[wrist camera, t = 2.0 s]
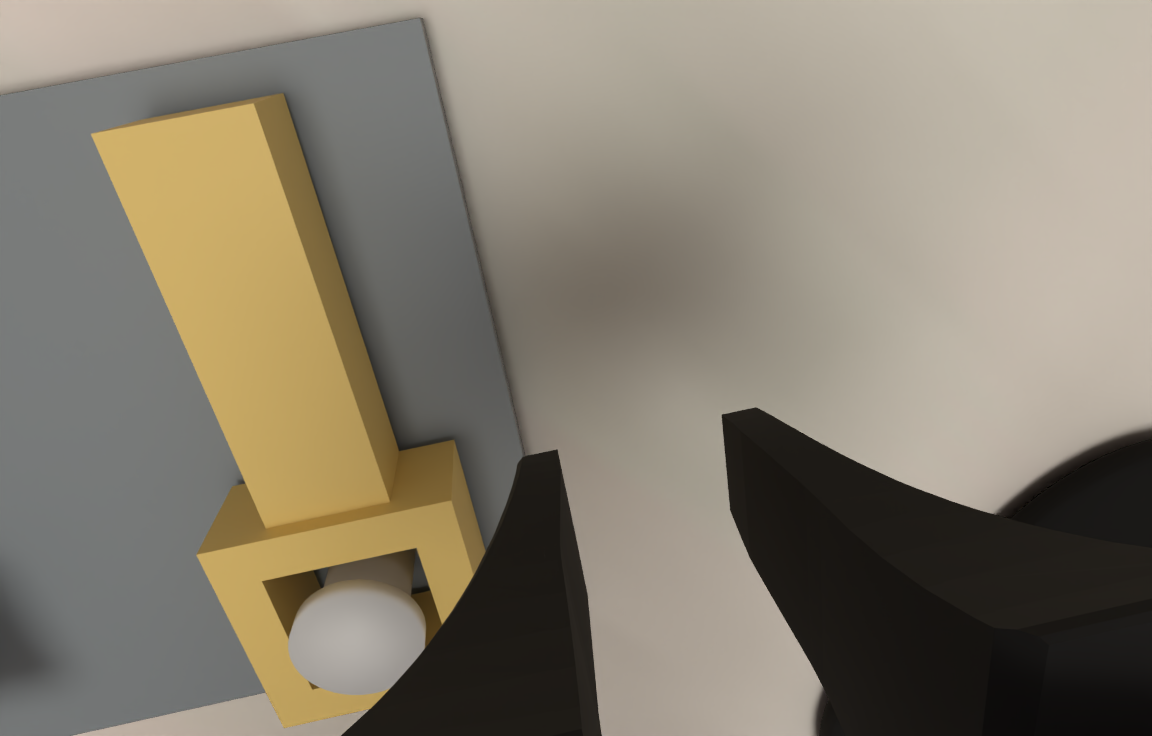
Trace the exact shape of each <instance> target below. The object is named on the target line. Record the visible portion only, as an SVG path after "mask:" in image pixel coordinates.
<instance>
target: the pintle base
mask: <svg viewBox="0 0 1152 736" xmlns="http://www.w3.org/2000/svg"><path fill="white" fill-rule="evenodd" d="M280 93H283V94H284V97H285V100H286V103H287V106H288V109H289V112H290V115H291V118H292V121H293V124H294V128H295V131H296V134H297V137H298V140H299V143H300V146H301V149H302V152H303V155H304V158H305V162H306V165H307V168H308V171H309V174H310V177H311V180H312V183H313V186H314V189H315V192H316V196H317V199H318V202H319V205H320V208H321V211H322V214H323V217H324V220H325V223H326V226H327V230H328V233H329V236H330V239H331V242H332V245H333V248H334V251H335V254H336V257H337V260H338V264H339V267H340V270H341V273H342V276H343V279H344V282H345V285H346V288H347V291H348V294H349V298H350V301H351V304H352V307H353V310H354V313H355V316H356V319H357V322H358V325H359V328H360V332H361V335H362V338H363V341H364V344H365V347H366V350H367V353H368V356H369V359H370V362H371V366H372V369H373V372H374V375H375V378H376V381H377V384H378V387H379V390H380V393H381V396H382V400H383V403H384V406H385V409H386V412H387V415H388V418H389V421H390V424H391V427H392V430H393V434H394V437H395V440H396V443H397V446H398V449H399V451H402V450H407V449H412V448H417V447H421V446H426V445H431V444H436V443H441V442H445V441H450V440H454V441H455V444H456V448H457V451H458V455H459V459H460V462H461V466H462V469H463V473H464V476H465V480H466V483H467V487H468V490H469V494H470V498H471V501H472V505H473V508H474V512H475V515H476V519H477V522H478V526H479V530H480V533H481V537H482V540H483V544H484V547H485V551H486V550H487V548H488V546H489V544H490V542H491V540H492V538H493V535H494V533H495V531H496V528H497V526H498V523H499V521H500V518H501V516H502V513H503V511H504V508H505V506H506V503H507V500H508V497H509V494H510V491H511V488H512V485H513V481H514V478H515V474H516V469H517V464H518V462H519V461H520V460H521V458H522V457H525V453H524V449H523V445H522V440H521V436H520V432H519V428H518V423H517V419H516V415H515V411H514V406H513V402H512V398H511V393H510V389H509V385H508V381H507V376H506V372H505V368H504V364H503V359H502V355H501V351H500V347H499V342H498V338H497V334H496V329H495V325H494V321H493V317H492V312H491V308H490V304H489V300H488V295H487V291H486V287H485V282H484V278H483V274H482V270H481V265H480V261H479V257H478V253H477V248H476V244H475V240H474V235H473V231H472V227H471V223H470V218H469V214H468V210H467V206H466V201H465V197H464V193H463V189H462V184H461V180H460V176H459V171H458V167H457V163H456V159H455V154H454V150H453V146H452V142H451V137H450V133H449V129H448V124H447V120H446V116H445V112H444V107H443V103H442V99H441V95H440V90H439V86H438V82H437V77H436V73H435V69H434V65H433V60H432V56H431V52H430V48H429V43H428V39H427V35H426V31H425V26H424V22H423V18H417V19H411V20H406V21H401V22H395V23H390V24H384V25H379V26H374V27H368V28H363V29H357V30H352V31H347V32H341V33H336V34H330V35H325V36H319V37H314V38H309V39H303V40H298V41H292V42H287V43H282V44H276V45H271V46H265V47H260V48H255V49H249V50H244V51H238V52H233V53H228V54H222V55H217V56H211V57H206V58H200V59H195V60H190V61H184V62H179V63H173V64H168V65H163V66H157V67H152V68H146V69H141V70H136V71H130V72H125V73H119V74H114V75H108V76H103V77H98V78H92V79H87V80H81V81H76V82H71V83H65V84H60V85H54V86H49V87H44V88H38V89H33V90H27V91H22V92H17V93H11V94H6V95H0V736H72V735H77V734H81V733H86V732H90V731H95V730H99V729H104V728H108V727H113V726H117V725H122V724H126V723H131V722H135V721H140V720H144V719H149V718H153V717H158V716H162V715H167V714H171V713H176V712H180V711H185V710H189V709H194V708H198V707H203V706H207V705H212V704H216V703H221V702H225V701H230V700H234V699H239V698H243V697H248V696H252V695H257V694H261V693H266V692H265V690H264V688H263V686H262V684H261V682H260V680H259V678H258V676H257V674H256V672H255V670H254V668H253V666H252V664H251V662H250V660H249V658H248V656H247V654H246V652H245V650H244V648H243V646H242V644H241V642H240V640H239V638H238V636H237V634H236V633H235V631H234V629H233V627H232V625H231V623H230V621H229V619H228V617H227V615H226V613H225V611H224V609H223V607H222V605H221V603H220V601H219V599H218V597H217V595H216V593H215V591H214V589H213V587H212V585H211V583H210V581H209V579H208V577H207V575H206V573H205V571H204V569H203V567H202V565H201V563H200V561H199V559H198V557H197V556H196V554H197V552H198V551H199V549H200V547H201V545H202V543H203V541H204V539H205V537H206V535H207V533H208V531H209V530H210V528H211V526H212V524H213V522H214V520H215V518H216V516H217V514H218V512H219V510H220V509H221V507H222V505H223V503H224V501H225V499H226V497H227V495H228V493H229V491H230V489H231V488H232V486H236V485H241V484H245V481H244V478H243V476H242V474H241V472H240V469H239V467H238V465H237V463H236V460H235V458H234V456H233V454H232V451H231V449H230V447H229V445H228V442H227V440H226V438H225V436H224V433H223V431H222V429H221V427H220V424H219V422H218V420H217V417H216V415H215V413H214V411H213V408H212V406H211V404H210V402H209V399H208V397H207V395H206V393H205V390H204V388H203V386H202V384H201V381H200V379H199V377H198V375H197V372H196V370H195V368H194V366H193V363H192V361H191V359H190V357H189V354H188V352H187V350H186V348H185V345H184V343H183V341H182V339H181V336H180V334H179V332H178V330H177V327H176V325H175V323H174V321H173V318H172V316H171V314H170V312H169V309H168V307H167V305H166V303H165V300H164V298H163V296H162V294H161V291H160V289H159V287H158V285H157V282H156V280H155V278H154V275H153V273H152V271H151V269H150V266H149V264H148V262H147V260H146V257H145V255H144V253H143V251H142V248H141V246H140V244H139V242H138V239H137V237H136V235H135V233H134V230H133V228H132V226H131V224H130V221H129V219H128V217H127V215H126V212H125V210H124V208H123V206H122V203H121V201H120V199H119V197H118V194H117V192H116V190H115V188H114V185H113V183H112V181H111V179H110V176H109V174H108V172H107V170H106V167H105V165H104V163H103V161H102V158H101V156H100V154H99V152H98V149H97V147H96V145H95V143H94V140H93V138H92V136H91V134H92V133H96V132H99V131H103V130H106V129H110V128H114V127H117V126H121V125H124V124H128V123H131V122H135V121H138V120H142V119H147V118H152V117H158V116H163V115H168V114H174V113H179V112H184V111H189V110H195V109H200V108H205V107H211V106H216V105H221V104H227V103H232V102H237V101H243V100H248V99H253V98H259V97H264V96H269V95H275V94H280ZM313 571H314V573H315V575H316V578H317V580H318V583H319V585H320V587H321V589H319V590H318V591H316V592H315V593H313V594H312V595H310V596H309V597H308V598H307V599H306V600H305V601H304V602H303V604H302V605H301V606H300V608H299V610H298V611H297V613H296V616H295V619H294V622H293V626H292V629H291V632H290V635H289V641H288V651H289V656H290V659H291V661H292V663H293V665H294V667H295V668H296V669H297V671H298V672H299V673H300V674H301V675H302V676H303V677H304V678H305V679H307V680H308V681H309V682H311V683H312V684H314V685H316V686H318V687H320V688H322V689H325V690H328V691H331V692H334V693H339V694H346V695H366V694H373V693H378V692H381V691H385V690H387V689H390V688H391V687H392V686H393V685H394V684H395V683H396V682H397V681H398V679H399V678H400V677H401V676H402V675H403V674H404V673H405V672H406V670H407V669H408V668H409V667H410V666H411V665H412V664H413V663H414V661H415V660H416V659H417V658H418V656H419V655H420V654H421V653H422V651H423V650H424V649H425V637H426V621H425V617H424V615H423V612H422V610H421V608H420V607H419V605H418V604H417V603H416V602H415V601H414V599H413V598H411V595H412V594H417V593H421V592H426V591H430V587H429V584H428V581H427V578H426V575H425V572H424V569H423V566H422V563H421V560H420V557H419V554H418V551H417V548H413V549H409V550H404V551H399V552H395V553H390V554H385V555H381V556H376V557H372V558H367V559H362V560H358V561H353V562H348V563H344V564H339V565H334V566H330V567H325V568H321V569H316V570H313Z"/></svg>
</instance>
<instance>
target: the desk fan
mask: <svg viewBox="0 0 1152 736" xmlns="http://www.w3.org/2000/svg"><path fill="white" fill-rule="evenodd" d="M1010 519H1011V520H1015V521H1018V522H1022V523H1026V524H1030V525H1034V526H1039V527H1043V528H1047V529H1051V530H1055V531H1060V532H1065V533H1070V534H1075V535H1079V536H1084V537H1089V538H1094V539H1099V540H1104V541H1109V542H1115V543H1121V544H1128V545H1135V546H1142V547H1149V548H1152V440H1148V441H1144V442H1140V443H1137V444H1134V445H1131V446H1128V447H1125V448H1122V449H1120V450H1117V451H1115V452H1112V453H1110V454H1108V455H1105V456H1103V457H1101V458H1099V459H1097V460H1095V461H1093V462H1091V463H1089V464H1087V465H1085V466H1083V467H1081V468H1079V469H1078V470H1076V471H1074V472H1073V473H1071V474H1069V475H1068V476H1066V477H1064V478H1063V479H1061V480H1059V481H1058V482H1056V483H1055V484H1054V485H1052V486H1051V487H1049V488H1048V489H1047V490H1045V491H1044V492H1042V493H1041V494H1039V495H1038V496H1037V497H1036V498H1034V499H1033V500H1032V501H1031V502H1029V503H1028V504H1027V505H1026V506H1025V507H1023V508H1022V509H1021V510H1020V511H1018V512H1017V513H1016V514H1015V515H1014V516H1013V517H1012V518H1010ZM820 736H845V734H844V732H843V729H842V727H841V725H840V723H839V720H838V718H837V716H836V714H835V712H834V709H833V707H832V705H831V703H830V701H828V703H827V705H826V707H825V710H824V714H823V717H822V721H821V728H820Z"/></svg>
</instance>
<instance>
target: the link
mask: <svg viewBox="0 0 1152 736" xmlns="http://www.w3.org/2000/svg"><path fill="white" fill-rule="evenodd" d="M91 136H92V138H93V140H94V143H95V145H96V147H97V149H98V152H99V154H100V156H101V158H102V161H103V163H104V165H105V167H106V170H107V172H108V174H109V176H110V179H111V181H112V183H113V185H114V188H115V190H116V192H117V194H118V197H119V199H120V201H121V203H122V206H123V208H124V210H125V212H126V215H127V217H128V219H129V221H130V224H131V226H132V228H133V230H134V233H135V235H136V237H137V239H138V242H139V244H140V246H141V248H142V251H143V253H144V255H145V257H146V260H147V262H148V264H149V266H150V269H151V271H152V273H153V275H154V278H155V280H156V282H157V285H158V287H159V289H160V291H161V294H162V296H163V298H164V300H165V303H166V305H167V307H168V309H169V312H170V314H171V316H172V318H173V321H174V323H175V325H176V327H177V330H178V332H179V334H180V336H181V339H182V341H183V343H184V345H185V348H186V350H187V352H188V354H189V357H190V359H191V361H192V363H193V366H194V368H195V370H196V372H197V375H198V377H199V379H200V381H201V384H202V386H203V388H204V390H205V393H206V395H207V397H208V399H209V402H210V404H211V406H212V408H213V411H214V413H215V415H216V417H217V420H218V422H219V424H220V427H221V429H222V431H223V433H224V436H225V438H226V440H227V442H228V445H229V447H230V449H231V451H232V454H233V456H234V458H235V460H236V463H237V465H238V467H239V469H240V472H241V474H242V476H243V478H244V481H245V484H241V485H236V486H232V488H231V489H230V491H229V493H228V495H227V497H226V499H225V501H224V503H223V505H222V507H221V509H220V510H219V512H218V514H217V516H216V518H215V520H214V522H213V524H212V526H211V528H210V530H209V531H208V533H207V535H206V537H205V539H204V541H203V543H202V545H201V547H200V549H199V551H198V552H197V554H196V556H197V557H198V559H199V561H200V563H201V565H202V567H203V569H204V571H205V573H206V575H207V577H208V579H209V581H210V583H211V585H212V587H213V589H214V591H215V593H216V595H217V597H218V599H219V601H220V603H221V605H222V607H223V609H224V611H225V613H226V615H227V617H228V619H229V621H230V623H231V625H232V627H233V629H234V631H235V633H236V634H237V636H238V638H239V640H240V642H241V644H242V646H243V648H244V650H245V652H246V654H247V656H248V658H249V660H250V662H251V664H252V666H253V668H254V670H255V672H256V674H257V676H258V678H259V680H260V682H261V684H262V686H263V688H264V690H265V692H266V694H267V696H268V698H269V700H270V702H271V704H272V706H273V708H274V709H275V711H276V713H277V715H278V717H279V719H280V721H281V723H282V725H283V727H284V728H287V727H291V726H296V725H300V724H305V723H309V722H313V721H318V720H322V719H327V718H331V717H336V716H340V715H345V714H349V713H354V712H358V711H362V710H367V709H371V708H372V707H373V706H374V705H375V704H376V703H377V702H378V701H379V700H380V699H381V698H382V697H383V695H384V694H385V693H386V692H387V691H388V690H389V689H387V690H385V691H381V692H378V693H373V694H366V695H346V694H339V693H334V692H331V691H328V690H325V689H322V688H320V687H318V686H316V685H314V684H312V683H311V682H309V681H308V680H307V679H305V678H304V677H303V676H302V675H301V674H300V673H299V672H298V671H297V669H296V668H295V667H294V665H293V663H292V661H291V659H290V656H289V651H288V641H289V635H290V632H291V629H292V626H293V622H294V619H295V616H296V613H297V611H298V610H299V608H300V606H301V605H302V604H303V602H304V601H305V600H306V599H307V598H308V597H309V596H310V595H312V594H313V593H315V592H316V591H318V590H319V589H321V587H320V585H319V583H318V580H317V578H316V575H315V573H314V571H313V570H316V569H321V568H325V567H330V566H334V565H339V564H344V563H348V562H353V561H358V560H362V559H367V558H372V557H376V556H381V555H385V554H390V553H395V552H399V551H404V550H409V549H413V548H417V551H418V554H419V557H420V560H421V563H422V566H423V569H424V572H425V575H426V578H427V581H428V584H429V587H430V591H426V592H421V593H417V594H412V595H411V598H413V599H414V601H415V602H416V603H417V604H418V605H419V607H420V608H421V610H422V612H423V615H424V617H425V621H426V637H425V648H426V646H427V645H428V644H429V642H430V641H431V640H432V638H433V637H434V636H435V634H436V633H437V631H438V630H439V629H440V627H441V626H442V624H443V623H444V622H445V620H446V619H447V617H448V616H449V615H450V613H451V612H452V610H453V609H454V607H455V605H456V604H457V602H458V601H459V599H460V598H461V596H462V594H463V593H464V591H465V589H466V588H467V586H468V584H469V583H470V581H471V579H472V577H473V575H474V574H475V572H476V570H477V568H478V566H479V564H480V562H481V560H482V558H483V556H484V554H485V552H486V551H485V547H484V544H483V540H482V537H481V533H480V530H479V526H478V522H477V519H476V515H475V512H474V508H473V505H472V501H471V498H470V494H469V490H468V487H467V483H466V480H465V476H464V473H463V469H462V466H461V462H460V459H459V455H458V451H457V448H456V444H455V441H454V440H450V441H445V442H441V443H436V444H431V445H426V446H421V447H417V448H412V449H407V450H402V451H399V449H398V446H397V443H396V440H395V437H394V434H393V430H392V427H391V424H390V421H389V418H388V415H387V412H386V409H385V406H384V403H383V400H382V396H381V393H380V390H379V387H378V384H377V381H376V378H375V375H374V372H373V369H372V366H371V362H370V359H369V356H368V353H367V350H366V347H365V344H364V341H363V338H362V335H361V332H360V328H359V325H358V322H357V319H356V316H355V313H354V310H353V307H352V304H351V301H350V298H349V294H348V291H347V288H346V285H345V282H344V279H343V276H342V273H341V270H340V267H339V264H338V260H337V257H336V254H335V251H334V248H333V245H332V242H331V239H330V236H329V233H328V230H327V226H326V223H325V220H324V217H323V214H322V211H321V208H320V205H319V202H318V199H317V196H316V192H315V189H314V186H313V183H312V180H311V177H310V174H309V171H308V168H307V165H306V162H305V158H304V155H303V152H302V149H301V146H300V143H299V140H298V137H297V134H296V131H295V128H294V124H293V121H292V118H291V115H290V112H289V109H288V106H287V103H286V100H285V97H284V94H283V93H280V94H275V95H269V96H264V97H259V98H253V99H248V100H243V101H237V102H232V103H227V104H221V105H216V106H211V107H205V108H200V109H195V110H189V111H184V112H179V113H174V114H168V115H163V116H158V117H152V118H147V119H142V120H138V121H135V122H131V123H128V124H124V125H121V126H117V127H114V128H110V129H106V130H103V131H99V132H96V133H92V134H91Z"/></svg>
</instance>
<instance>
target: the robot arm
mask: <svg viewBox="0 0 1152 736" xmlns="http://www.w3.org/2000/svg"><path fill="white" fill-rule="evenodd" d="M722 424H723V435H724V446H725V457H726V468H727V479H728V490H729V501H730V511H731V513H732V516H733V518H734V521H735V523H736V526H737V528H738V531H739V533H740V536H741V538H742V540H743V543H744V545H745V547H746V550H747V552H748V554H749V557H750V559H751V561H752V563H753V564H754V566H755V568H756V570H757V571H758V573H759V575H760V577H761V578H762V580H763V582H764V584H765V585H766V587H767V589H768V591H769V592H770V594H771V596H772V598H773V599H774V601H775V603H776V604H777V606H778V608H779V610H780V611H781V613H782V615H783V616H784V618H785V620H786V622H787V623H788V625H789V627H790V628H791V630H792V632H793V634H794V635H795V637H796V639H797V640H798V642H799V644H800V646H801V647H802V649H803V651H804V652H805V654H806V656H807V658H808V659H809V661H810V663H811V665H812V667H813V668H814V670H815V672H816V674H817V676H818V678H819V680H820V682H821V684H822V686H823V687H824V690H825V692H826V694H827V696H828V698H829V701H830V703H831V705H832V707H833V709H834V712H835V714H836V716H837V718H838V720H839V723H840V725H841V727H842V729H843V732H844V734H845V736H1152V548H1149V547H1142V546H1135V545H1128V544H1121V543H1115V542H1109V541H1104V540H1099V539H1094V538H1089V537H1084V536H1079V535H1075V534H1070V533H1065V532H1060V531H1055V530H1051V529H1047V528H1043V527H1039V526H1034V525H1030V524H1026V523H1022V522H1018V521H1015V520H1011V519H1008V518H1004V517H1001V516H997V515H994V514H990V513H987V512H983V511H980V510H976V509H973V508H970V507H967V506H964V505H961V504H958V503H955V502H952V501H949V500H946V499H944V498H941V497H938V496H935V495H933V494H930V493H927V492H925V491H922V490H919V489H916V488H914V487H911V486H909V485H906V484H904V483H902V482H899V481H897V480H894V479H892V478H890V477H888V476H886V475H884V474H881V473H879V472H877V471H875V470H873V469H870V468H868V467H866V466H864V465H862V464H860V463H858V462H856V461H854V460H852V459H850V458H848V457H846V456H844V455H842V454H840V453H838V452H836V451H834V450H832V449H830V448H828V447H827V446H825V445H823V444H821V443H819V442H817V441H816V440H814V439H812V438H810V437H808V436H807V435H805V434H803V433H801V432H799V431H798V430H796V429H794V428H792V427H791V426H789V425H787V424H785V423H784V422H782V421H780V420H778V419H777V418H775V417H773V416H771V415H770V414H768V413H766V412H764V411H762V410H760V409H758V408H751V409H746V410H742V411H737V412H732V413H728V414H723V415H722ZM341 736H601V728H600V721H599V713H598V703H597V692H596V681H595V670H594V660H593V649H592V638H591V627H590V616H589V606H588V595H587V590H586V585H585V580H584V575H583V570H582V565H581V560H580V555H579V550H578V546H577V541H576V536H575V531H574V526H573V522H572V517H571V512H570V507H569V503H568V498H567V493H566V488H565V484H564V479H563V474H562V469H561V465H560V460H559V455H558V450H553V451H548V452H543V453H539V454H534V455H529V456H525V457H522V458H521V460H520V461H519V462H518V464H517V469H516V474H515V478H514V481H513V485H512V488H511V491H510V494H509V497H508V500H507V503H506V506H505V508H504V511H503V513H502V516H501V518H500V521H499V523H498V526H497V528H496V531H495V533H494V535H493V538H492V540H491V542H490V544H489V546H488V548H487V550H486V552H485V554H484V556H483V558H482V560H481V562H480V564H479V566H478V568H477V570H476V572H475V574H474V575H473V577H472V579H471V581H470V583H469V584H468V586H467V588H466V589H465V591H464V593H463V594H462V596H461V598H460V599H459V601H458V602H457V604H456V605H455V607H454V609H453V610H452V612H451V613H450V615H449V616H448V617H447V619H446V620H445V622H444V623H443V624H442V626H441V627H440V629H439V630H438V631H437V633H436V634H435V636H434V637H433V638H432V640H431V641H430V642H429V644H428V645H427V646H426V648H425V649H424V650H423V651H422V653H421V654H420V655H419V656H418V658H417V659H416V660H415V661H414V663H413V664H412V665H411V666H410V667H409V668H408V669H407V670H406V672H405V673H404V674H403V675H402V676H401V677H400V678H399V679H398V681H397V682H396V683H395V684H394V685H393V686H392V687H391V688H390V689H389V690H388V691H387V692H386V693H385V694H384V695H383V697H382V698H381V699H380V700H379V701H378V702H377V703H376V704H375V705H374V706H373V707H372V708H371V709H370V710H369V711H368V712H366V713H365V714H364V715H363V716H362V717H361V718H360V719H359V720H358V721H357V722H356V723H354V724H353V725H352V726H351V727H350V728H349V729H348V730H347V731H346V732H345V733H344V734H342V735H341Z"/></svg>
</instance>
